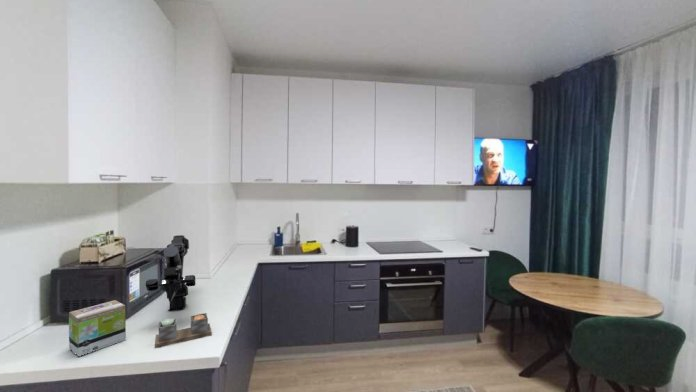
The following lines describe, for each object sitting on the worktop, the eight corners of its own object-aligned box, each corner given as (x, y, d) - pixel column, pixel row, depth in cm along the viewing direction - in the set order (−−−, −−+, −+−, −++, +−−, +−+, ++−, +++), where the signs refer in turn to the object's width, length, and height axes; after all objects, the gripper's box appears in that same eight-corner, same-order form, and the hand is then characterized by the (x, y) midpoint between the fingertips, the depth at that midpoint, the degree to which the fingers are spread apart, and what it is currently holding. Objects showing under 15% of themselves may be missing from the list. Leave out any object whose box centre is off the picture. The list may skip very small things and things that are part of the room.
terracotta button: (192, 324, 124) (192, 319, 124) (194, 320, 128) (194, 315, 128) (203, 323, 125) (203, 318, 125) (205, 318, 129) (205, 314, 129)
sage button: (160, 328, 118) (159, 323, 118) (163, 323, 122) (163, 318, 122) (171, 327, 119) (171, 322, 119) (175, 322, 123) (174, 317, 123)
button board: (154, 348, 115) (154, 330, 115) (155, 338, 122) (155, 321, 122) (211, 335, 125) (211, 318, 125) (209, 326, 132) (209, 311, 132)
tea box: (78, 358, 108) (77, 318, 107) (68, 350, 113) (67, 311, 113) (126, 340, 121) (125, 304, 120) (115, 333, 126) (114, 298, 125)
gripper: (145, 261, 128) (140, 295, 118) (194, 257, 135) (193, 289, 126) (150, 274, 135) (145, 307, 126) (196, 269, 143) (194, 300, 133)
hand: (170, 301), depth 128 cm, fingers closed
